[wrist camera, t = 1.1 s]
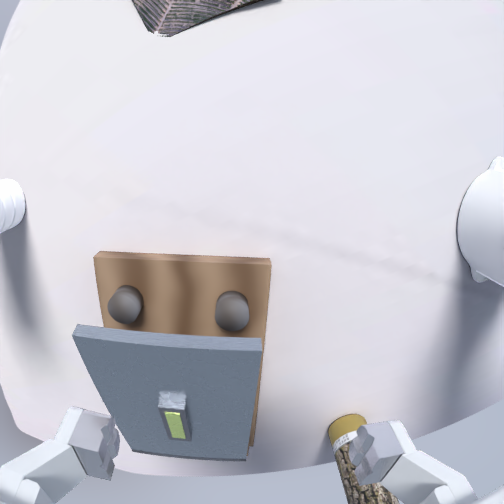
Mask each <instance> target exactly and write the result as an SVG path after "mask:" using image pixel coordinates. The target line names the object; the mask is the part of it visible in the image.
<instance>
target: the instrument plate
mask: <svg viewBox="0 0 504 504" xmlns="http://www.w3.org/2000/svg"><path fill="white" fill-rule="evenodd" d="M72 337H73V339H74V341H75V344H76V346H77V348H78V350H79V353H80V355H81V357H82V359H83V362H84V364H85V366H86V368H87V370H88V372H89V374H90V376H91V378H92V380H93V382H94V384H95V386H96V388H97V390H98V392H99V394H100V396H101V398H102V400H103V402H104V403H105V405H106V407H107V409H108V411H109V412H110V414H111V416H114V419H115V422H116V425H117V426H118V428H119V430H120V431H121V433H122V435H123V436H124V438H125V439H126V441H127V443H128V444H129V446H130V447H131V449H132V451H133V452H138V453H144V454H151V455H158V456H166V457H175V458H186V459H198V460H216V461H246V455H247V449H248V443H249V436H250V430H251V424H252V417H253V411H254V404H255V397H256V391H257V384H258V377H259V370H260V363H261V356H262V342H261V338H243V337H215V336H195V335H179V334H165V333H153V332H142V331H131V330H122V329H112V328H104V327H96V326H88V325H80V324H77V326H76V328H75V330H74V332H73V334H72Z"/></svg>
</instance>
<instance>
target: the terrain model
mask: <svg viewBox="0 0 504 504" xmlns="http://www.w3.org/2000/svg"><path fill="white" fill-rule="evenodd" d="M259 1H263V0H133V2H134V4H135V6H136V8H137V10H138V12H139V14H140V16H141V18H142V20H143V22H144V24H145V26H146V28H147V30H148V32H149V31H150V32H152V33H153V34H154V31H159V32H158V33H159V34H169V35H166V36H165V37H171V36H173V35H175V34H177V33H179V32H181V31H184V30H186V29H188V28H190V27H193V26H195V25H197V24H199V23H202V22H204V21H207V20H209V19H211V18H214V17H217V16H219V15H222V14H225V13H227V12H230V11H232V10H235V9H239V8H241V7H244V6H247V5H249V4H253V3H257V2H259ZM162 37H163V36H162Z"/></svg>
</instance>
